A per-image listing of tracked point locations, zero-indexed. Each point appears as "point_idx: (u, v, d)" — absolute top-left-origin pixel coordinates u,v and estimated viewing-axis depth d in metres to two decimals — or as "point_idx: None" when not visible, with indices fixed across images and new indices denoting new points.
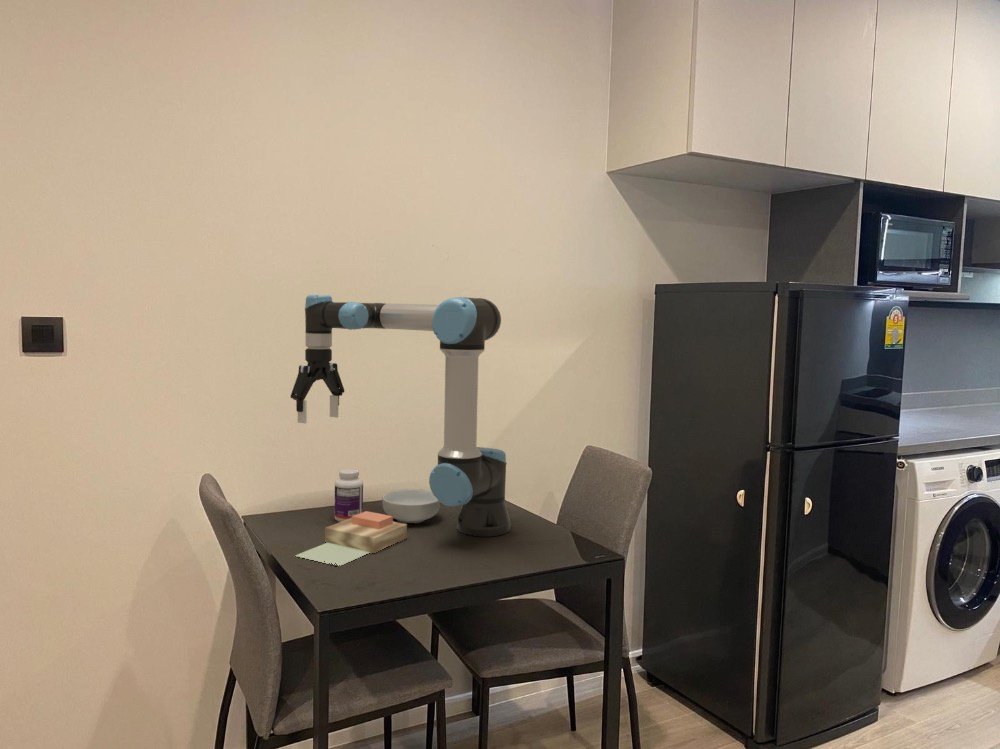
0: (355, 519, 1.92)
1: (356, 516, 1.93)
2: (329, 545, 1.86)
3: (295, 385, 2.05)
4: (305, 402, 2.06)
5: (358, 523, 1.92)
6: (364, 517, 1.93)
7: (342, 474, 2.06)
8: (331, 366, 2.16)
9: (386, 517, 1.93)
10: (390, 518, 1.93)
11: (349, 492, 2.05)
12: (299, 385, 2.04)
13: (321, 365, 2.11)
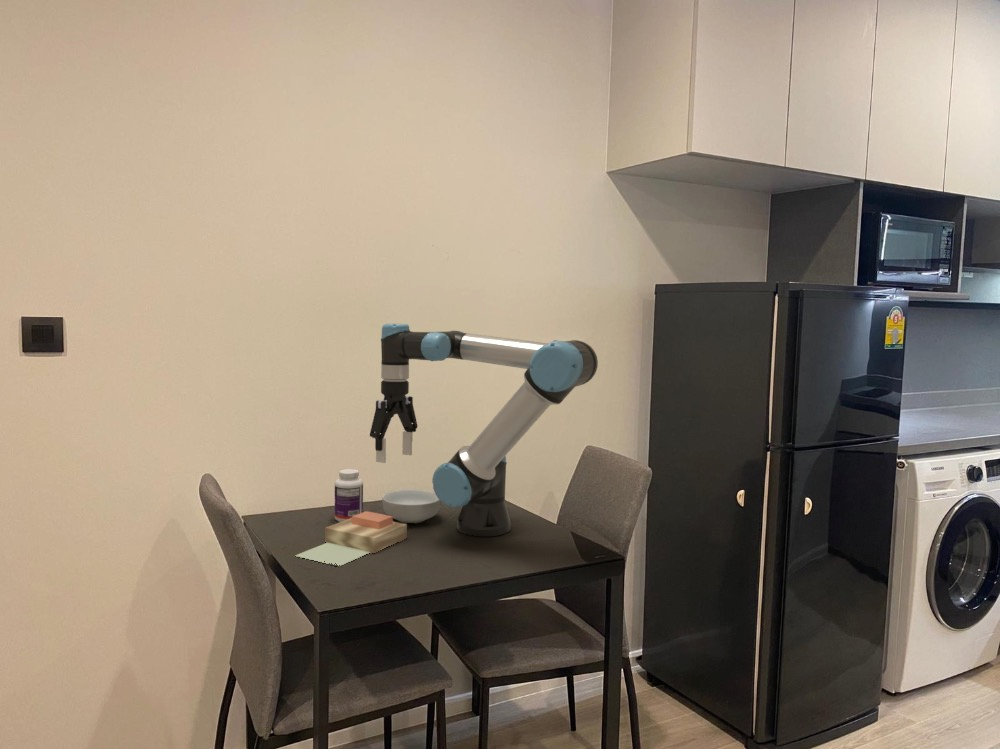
0: (355, 519, 1.92)
1: (356, 516, 1.93)
2: (329, 545, 1.86)
3: (374, 422, 1.92)
4: (384, 440, 1.94)
5: (358, 523, 1.92)
6: (364, 517, 1.93)
7: (342, 474, 2.06)
8: (406, 399, 2.03)
9: (386, 517, 1.93)
10: (390, 518, 1.93)
11: (349, 492, 2.05)
12: (378, 422, 1.92)
13: (398, 398, 1.98)
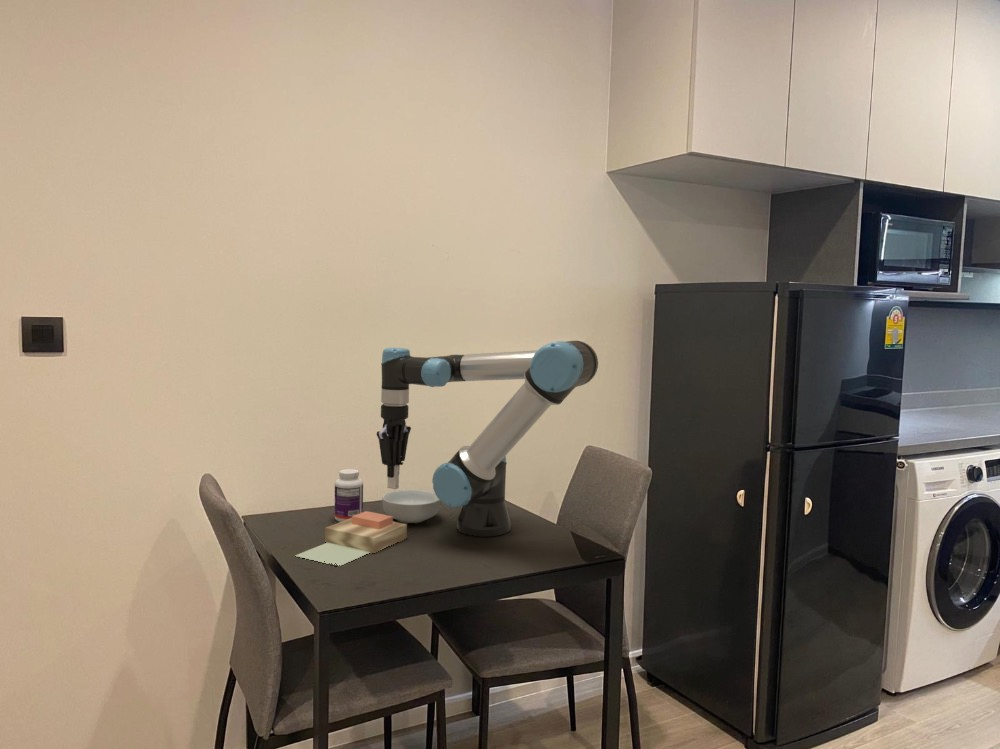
0: (355, 519, 1.92)
1: (356, 516, 1.93)
2: (329, 545, 1.86)
3: (382, 452, 1.97)
4: (396, 467, 2.00)
5: (358, 523, 1.92)
6: (364, 517, 1.93)
7: (342, 474, 2.06)
8: (405, 427, 2.04)
9: (386, 517, 1.93)
10: (390, 518, 1.93)
11: (349, 492, 2.05)
12: (386, 452, 1.96)
13: (397, 422, 1.99)
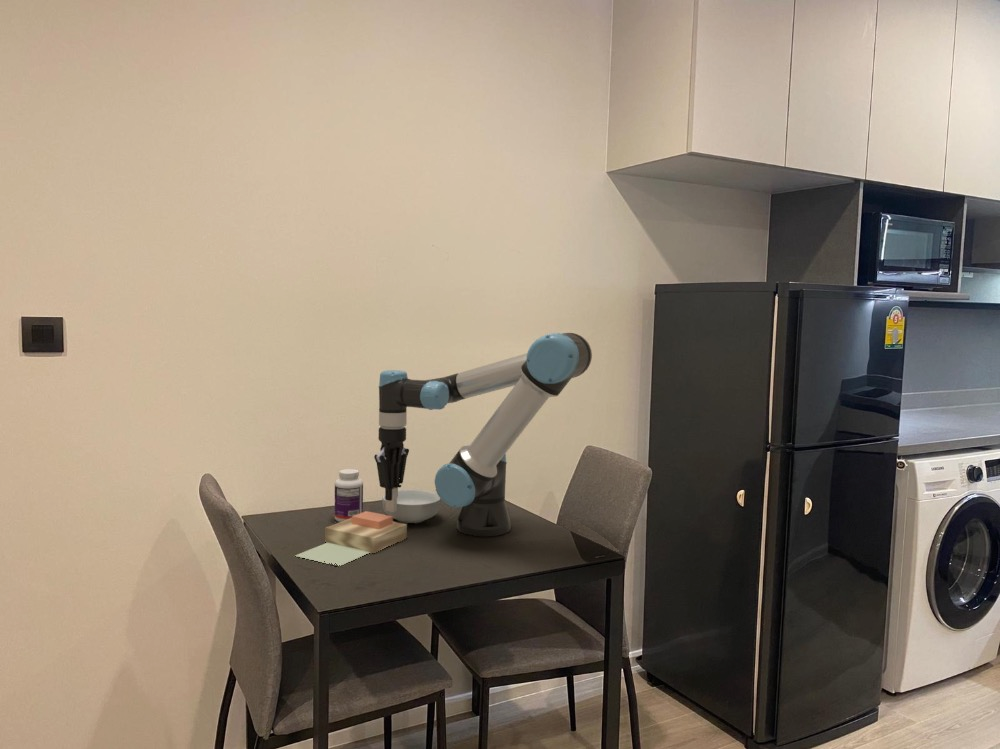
0: (355, 519, 1.92)
1: (356, 516, 1.93)
2: (329, 545, 1.86)
3: (379, 475, 1.96)
4: (394, 490, 1.99)
5: (358, 523, 1.92)
6: (364, 517, 1.93)
7: (342, 474, 2.06)
8: (403, 449, 2.03)
9: (386, 517, 1.93)
10: (390, 518, 1.93)
11: (349, 492, 2.05)
12: (384, 475, 1.96)
13: (395, 445, 1.99)
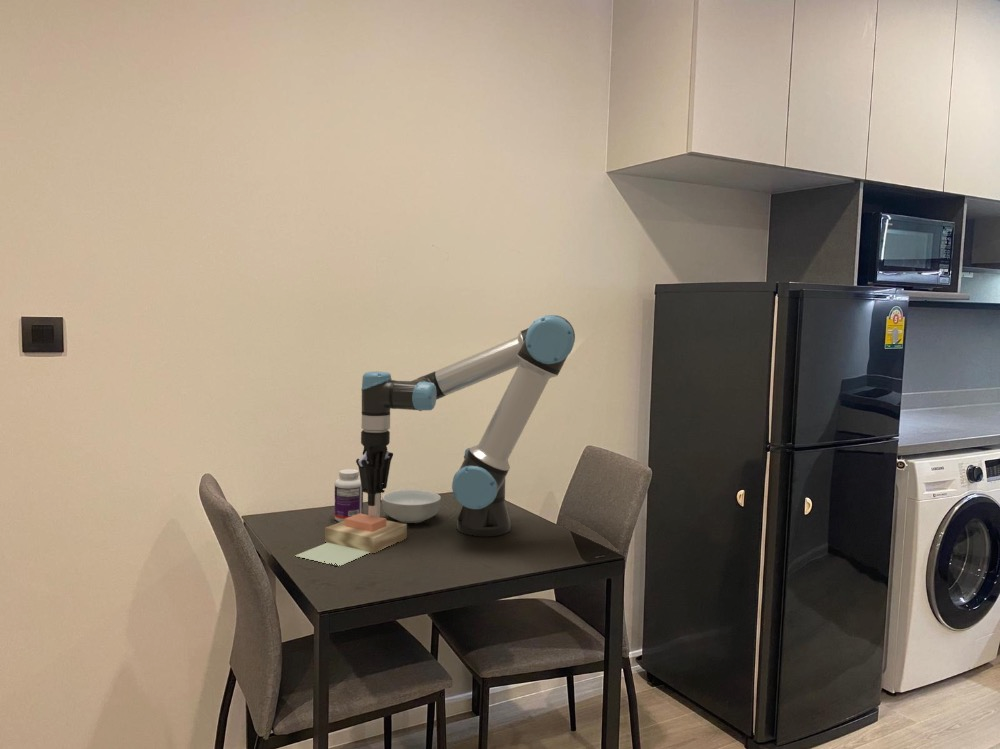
0: (348, 521, 1.90)
1: (349, 518, 1.91)
2: (329, 545, 1.86)
3: (362, 480, 1.90)
4: (377, 495, 1.93)
5: (351, 525, 1.90)
6: (357, 519, 1.90)
7: (342, 474, 2.06)
8: (387, 453, 1.97)
9: (379, 519, 1.90)
10: (383, 520, 1.91)
11: (349, 492, 2.05)
12: (366, 480, 1.89)
13: (378, 449, 1.92)
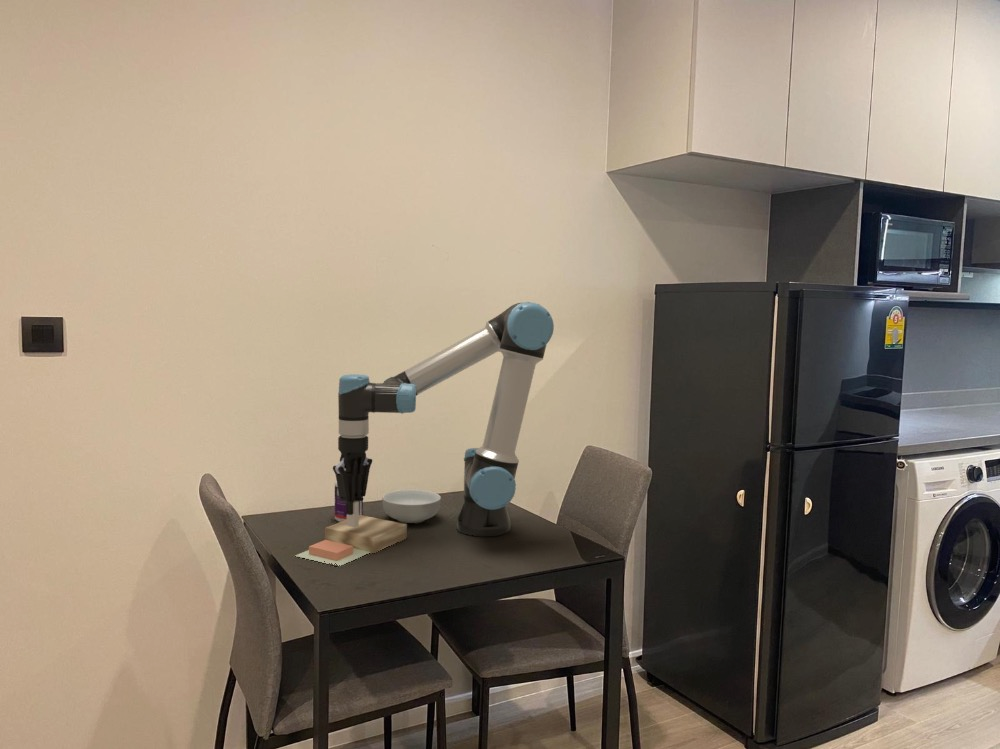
0: None
1: None
2: None
3: (339, 488, 1.82)
4: (355, 504, 1.85)
5: None
6: None
7: None
8: (366, 459, 1.89)
9: None
10: (339, 558, 1.76)
11: None
12: (343, 488, 1.81)
13: (356, 455, 1.84)
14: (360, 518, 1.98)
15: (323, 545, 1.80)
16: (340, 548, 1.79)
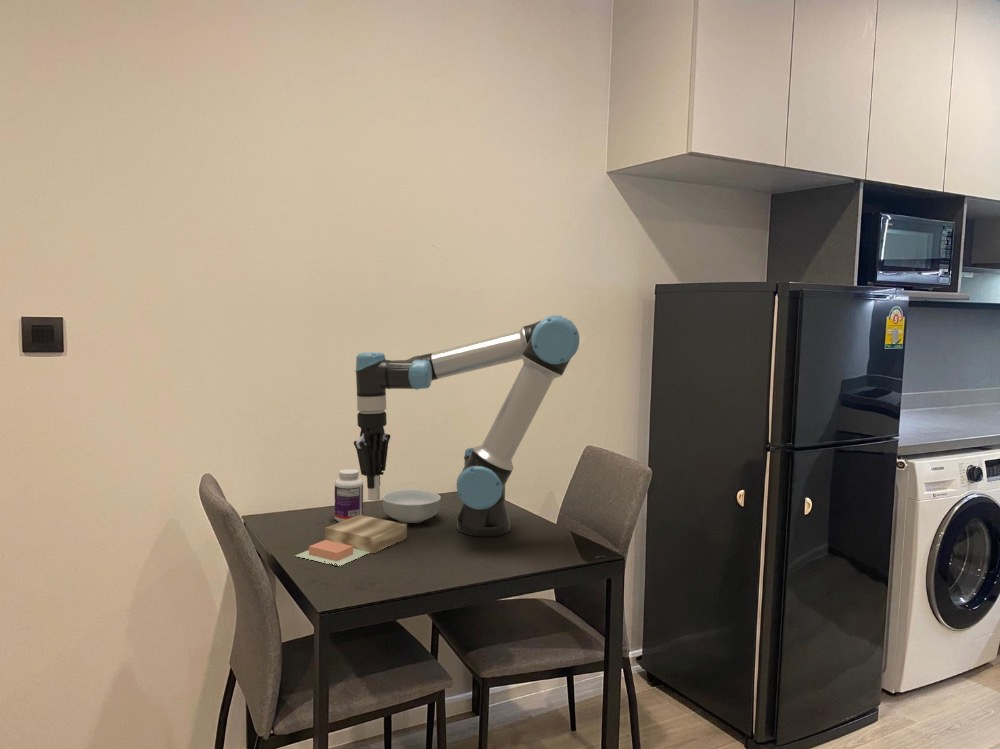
0: None
1: None
2: None
3: (360, 462, 1.88)
4: (376, 478, 1.91)
5: None
6: None
7: (342, 474, 2.06)
8: (384, 435, 1.94)
9: None
10: (339, 558, 1.76)
11: (349, 492, 2.05)
12: (365, 462, 1.87)
13: (375, 430, 1.90)
14: (360, 518, 1.98)
15: (323, 545, 1.80)
16: (340, 548, 1.79)
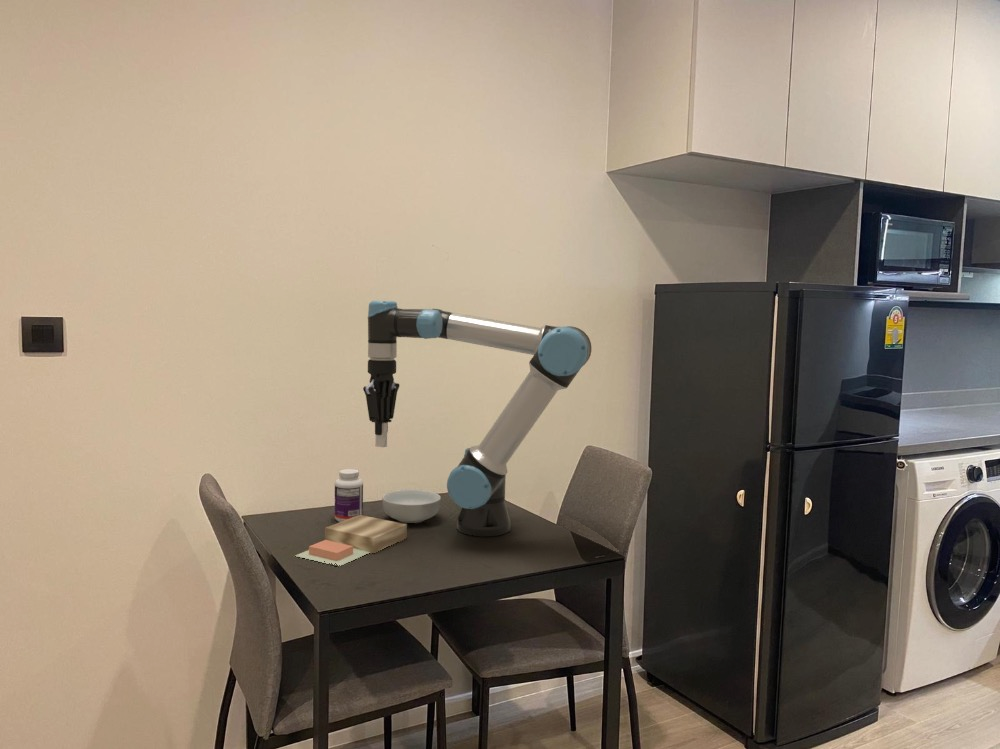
0: None
1: None
2: None
3: (369, 408, 1.90)
4: (384, 425, 1.93)
5: None
6: None
7: (342, 474, 2.06)
8: (393, 384, 1.97)
9: None
10: (339, 558, 1.76)
11: (349, 492, 2.05)
12: (373, 408, 1.89)
13: (385, 378, 1.92)
14: (360, 518, 1.98)
15: (323, 545, 1.80)
16: (340, 548, 1.79)
